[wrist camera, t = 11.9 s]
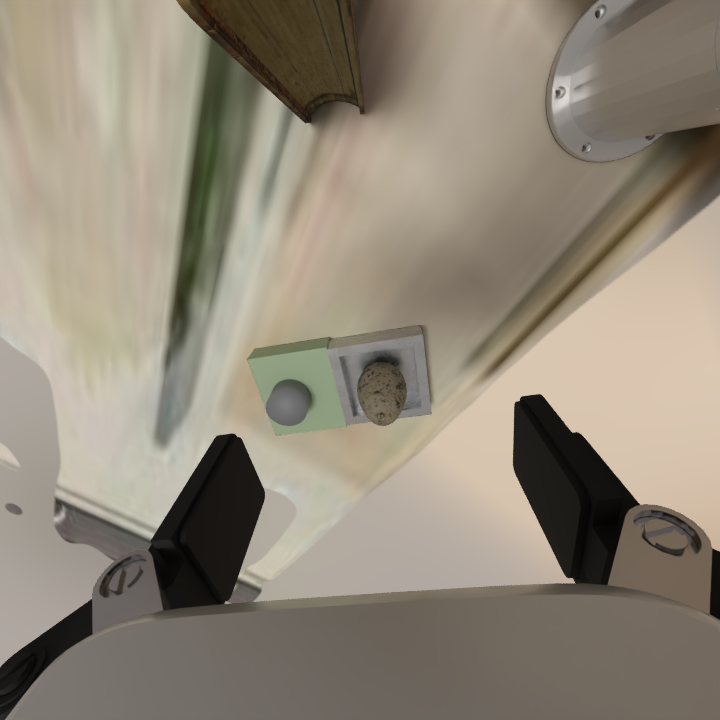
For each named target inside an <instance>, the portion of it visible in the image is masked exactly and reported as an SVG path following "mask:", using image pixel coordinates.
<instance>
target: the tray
mask: <svg viewBox="0 0 720 720" xmlns="http://www.w3.org/2000/svg"><path fill="white" fill-rule="evenodd" d="M327 352H328V356H329V360H330V364H331V368H332V371H333V375H334V379H335V383H336V387H337V391H338V395H339V399H340V403H341V407H342V411H343V414H344V418H345V422H346V425H350V424H358V423H366V422H372V421H370V420H369V419H368V418H367V417H366V415H365V414H364V412H363V410H362V408H361V406H360V404H359V400H358V396H357V384H358V380H359V377H360V375H361V374H362V372H363V371H364V370H365V369H366V368H367V367H368V366H370V365H372V364H374V363H378V362H385V363H389V364H391V365H393V366H395V367H396V368H397V369H398V370H399V371H400V372H401V373H402V375H403V377H404V379H405V382H406V387H407V394H406V401H405V404H404V407H403V409H402V411H401V413H400V415H399V416H398V418H406V417H413V416H421V415H429V414H432V412H431V403H430V394H429V385H428V376H427V367H426V358H425V349H424V340H423V333H422V330H421V327H420V325H417V326H411V327H405V328H398V329H392V330H386V331H379V332H373V333H367V334H360V335H354V336H348V337H341V338H335V339H330V340H329V344H328V347H327ZM398 418H397V419H398Z"/></svg>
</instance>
